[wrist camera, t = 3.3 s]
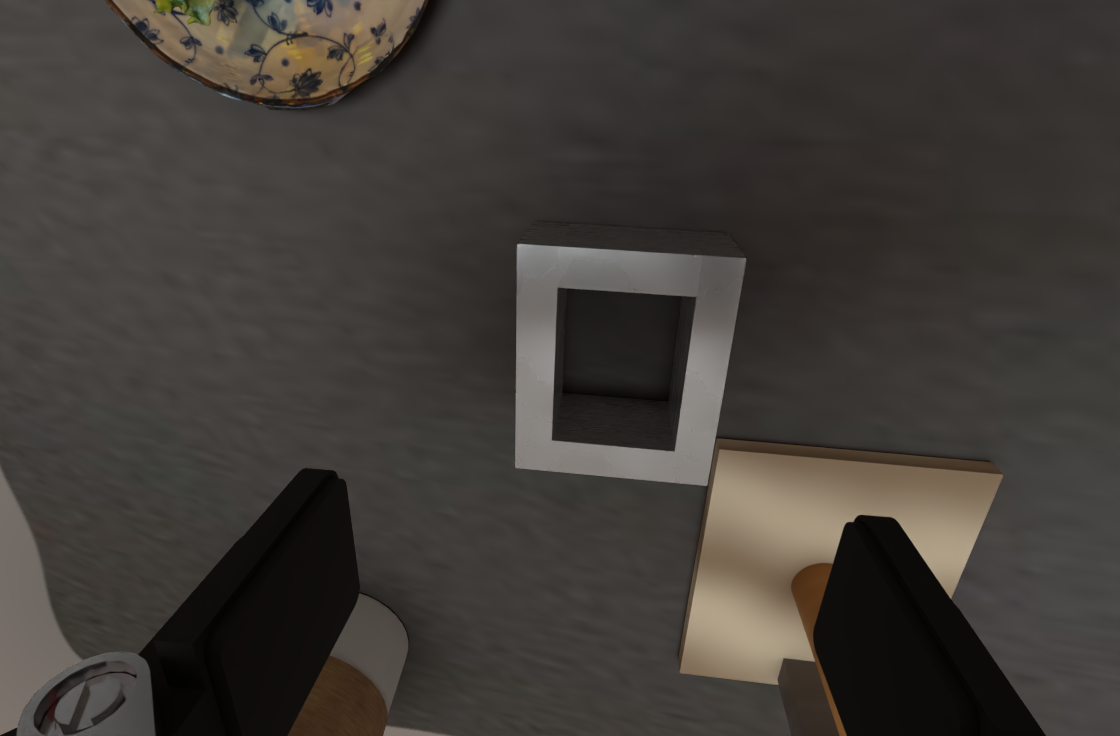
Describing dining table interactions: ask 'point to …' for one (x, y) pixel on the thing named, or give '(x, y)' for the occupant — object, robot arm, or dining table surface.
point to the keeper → (809, 554)
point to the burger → (274, 44)
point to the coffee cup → (357, 676)
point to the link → (612, 422)
